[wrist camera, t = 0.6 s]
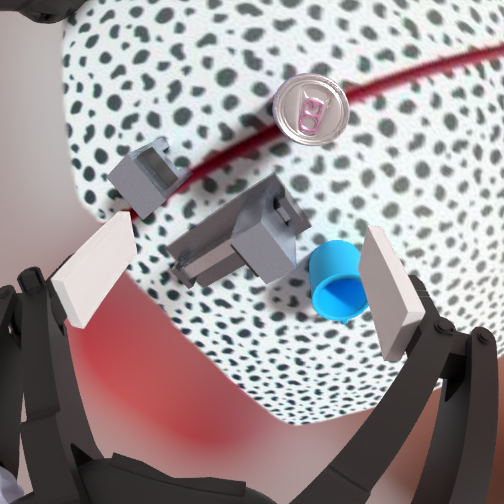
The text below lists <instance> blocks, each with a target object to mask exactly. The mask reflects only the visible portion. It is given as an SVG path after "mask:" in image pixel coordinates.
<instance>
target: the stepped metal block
mask: <svg viewBox="0 0 504 504" xmlns="http://www.w3.org/2000/svg"><path fill="white" fill-rule="evenodd" d="M169 146H170V145H169V144H168V143H167V141H166V140H165V139H164V138H163V137H162V138H160V139H158V140H156V141H154V142H151V143H149V144H147V145H145V146H143V147H141V148H139V149H137V150H135V151H133V152H131V153H129V154H127V155H126V156H125V157H124V158H123V159H122V160H121V162H120V163H119V164H118V165H117V166H116V167H115V168H114V169H113V170H112V171H111V172H110V174H109V175H108V176H107V178H108V179H109V181H110V182H111V183H112V184H113V185H114V187H115V188H116V189H117V190H118V191H119V193H120V194H121V195H122V196H123V197H124V199H125V200H126V201H127V202H128V203H129V204H130V206H131V207H132V208H133V209H134V210H135V211H136V213H137V214H138V215H139V216H140V217H141V218H142V219H143V220H144V219H145V218H146V217H147V216H148V215H149V214H150V213H152V212H153V211H154V210H155V209H156V208H157V207H159V206H160V205H161V204H162V203H163V202H165V201H166V200H167V199H168V198H169V197H170V196H171V195H172V194H173V193H174V192H175V191H176V190H177V189H178V188H179V187H180V186H181V185H182V184H183V183H184V182H185V181H186V180H187V179H188V178H189V177H190V176H191V175H192V174H193V173H192V172H191V170H190V169H189V168H188V167H187V166H186V165H184V166H183V167H182V168H181V169H180V170H177V168H176V167H175V166H174V165H173V164H172V162H171V161H170V160H169V159H168V157H167V156H166V155H165V154H164V153H163V152H164V151H165V150H166V149H167V148H168V147H169Z"/></svg>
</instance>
